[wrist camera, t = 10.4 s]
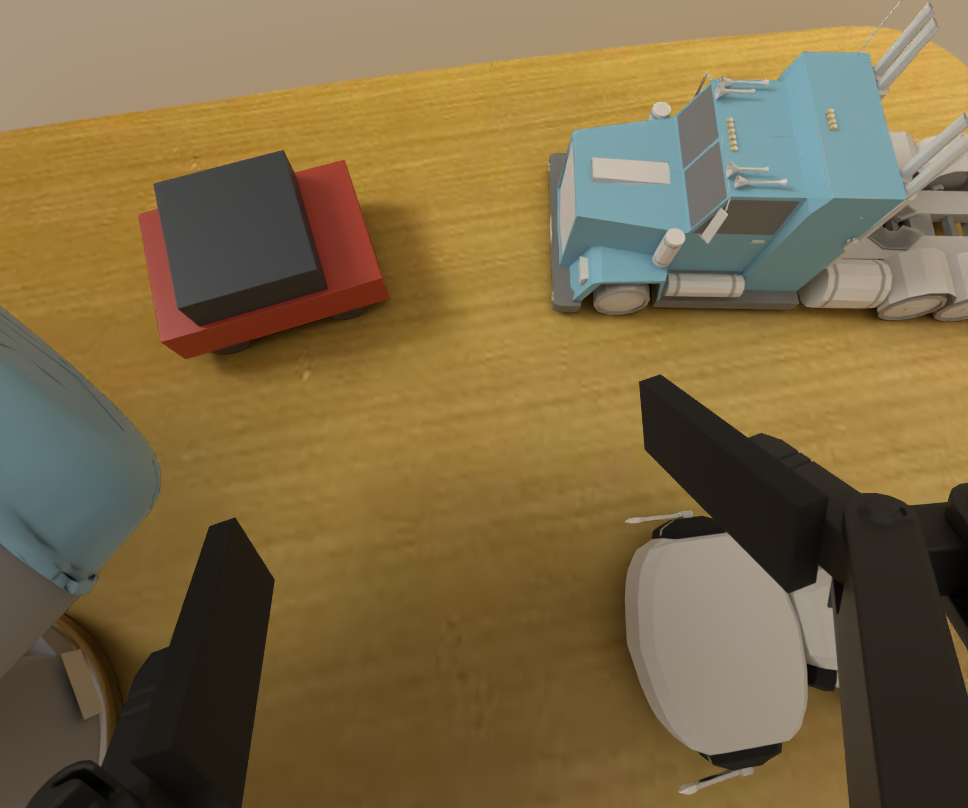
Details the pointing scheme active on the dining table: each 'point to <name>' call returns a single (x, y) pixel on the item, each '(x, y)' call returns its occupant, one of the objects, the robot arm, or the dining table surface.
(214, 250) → the toy car
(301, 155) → the dining table surface
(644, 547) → the robot toy
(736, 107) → the truck
